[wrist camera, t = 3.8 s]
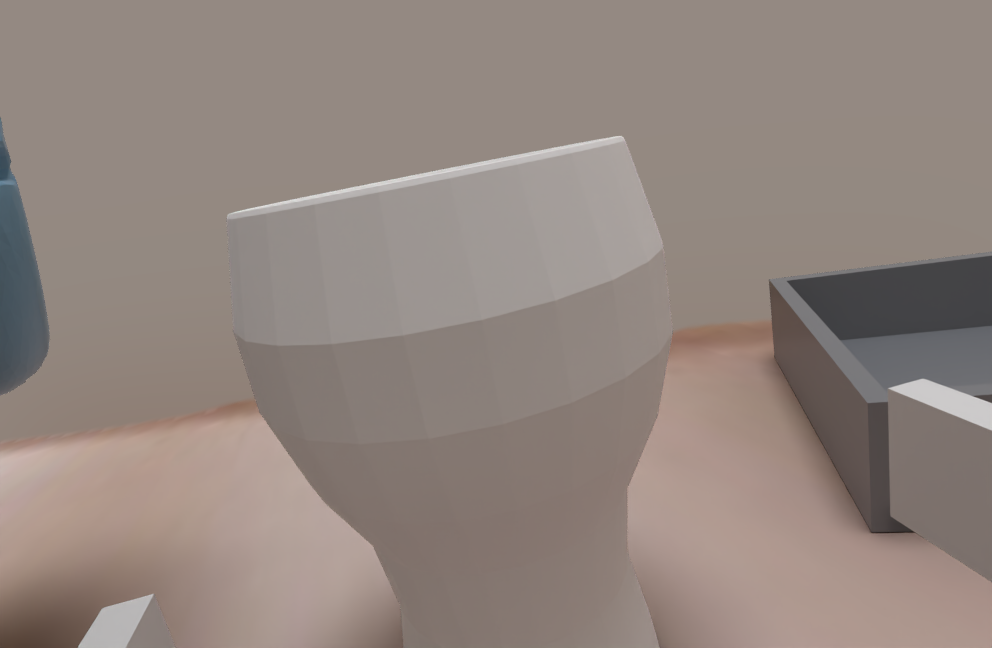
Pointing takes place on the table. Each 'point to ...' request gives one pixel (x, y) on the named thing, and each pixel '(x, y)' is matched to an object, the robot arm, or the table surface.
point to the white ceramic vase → (471, 383)
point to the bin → (880, 354)
